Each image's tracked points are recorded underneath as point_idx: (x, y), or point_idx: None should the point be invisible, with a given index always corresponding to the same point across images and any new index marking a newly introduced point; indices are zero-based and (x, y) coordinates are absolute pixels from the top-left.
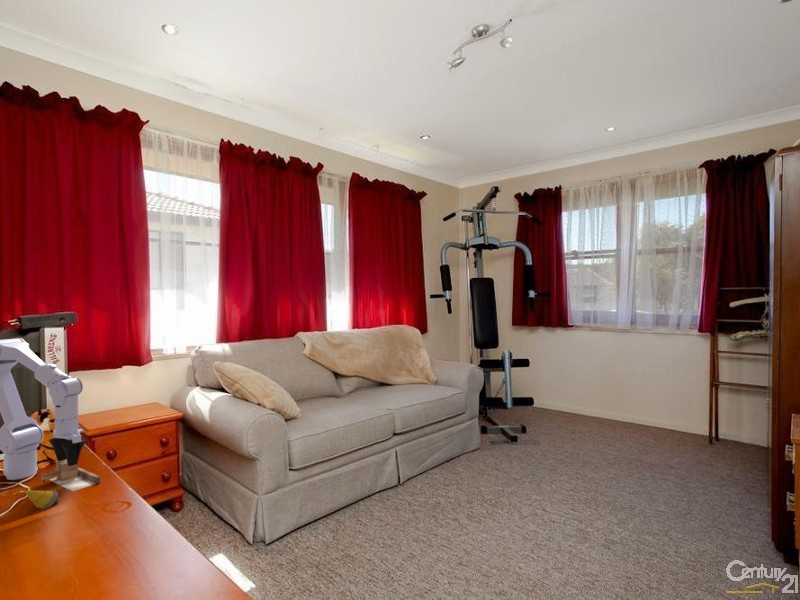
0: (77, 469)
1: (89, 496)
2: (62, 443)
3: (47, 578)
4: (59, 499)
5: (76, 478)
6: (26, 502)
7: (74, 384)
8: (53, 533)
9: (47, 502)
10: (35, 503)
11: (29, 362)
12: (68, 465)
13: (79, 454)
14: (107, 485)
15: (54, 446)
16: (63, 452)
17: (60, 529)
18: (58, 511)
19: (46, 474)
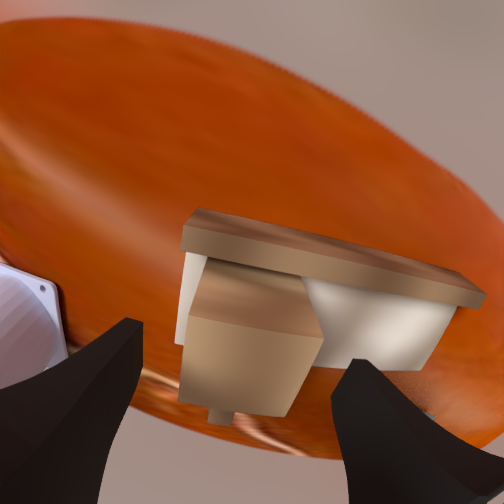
0: (306, 294)
1: (466, 335)
2: (78, 476)
3: (498, 431)
4: (434, 416)
5: (318, 291)
6: (296, 430)
7: None
8: (470, 422)
9: None
10: None
11: None
12: (335, 399)
13: (417, 408)
14: (474, 251)
15: (98, 489)
16: (115, 389)
17: (475, 415)
18: (436, 406)
19: (227, 415)
